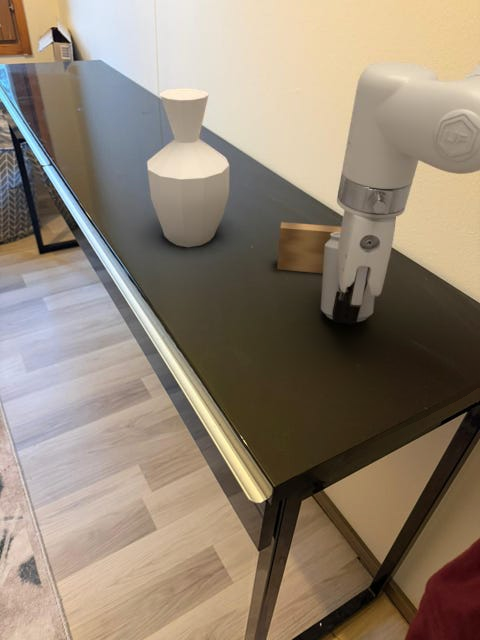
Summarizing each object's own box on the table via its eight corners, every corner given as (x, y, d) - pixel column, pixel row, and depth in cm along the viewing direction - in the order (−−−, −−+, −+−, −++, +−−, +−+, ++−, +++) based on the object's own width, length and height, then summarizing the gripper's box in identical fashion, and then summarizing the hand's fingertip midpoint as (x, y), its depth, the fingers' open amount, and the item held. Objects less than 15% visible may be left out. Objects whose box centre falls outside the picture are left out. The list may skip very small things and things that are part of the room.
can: (343, 327, 62) (351, 238, 58) (310, 312, 68) (314, 231, 64) (383, 318, 65) (393, 234, 61) (348, 305, 71) (354, 228, 68)
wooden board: (370, 271, 78) (380, 229, 73) (371, 277, 77) (381, 235, 72) (278, 263, 80) (281, 221, 75) (277, 269, 78) (280, 227, 73)
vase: (168, 262, 80) (153, 110, 64) (145, 227, 90) (127, 87, 74) (241, 246, 84) (244, 100, 69) (212, 214, 94) (209, 80, 79)
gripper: (420, 226, 44) (377, 360, 56) (397, 168, 56) (366, 290, 67) (342, 219, 45) (316, 354, 57) (336, 164, 56) (315, 285, 68)
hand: (343, 319), depth 62 cm, fingers closed
